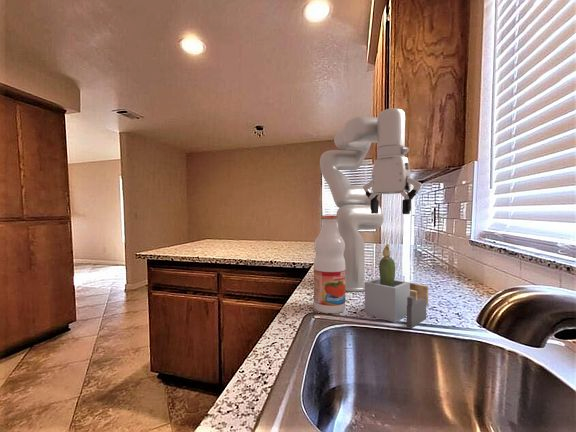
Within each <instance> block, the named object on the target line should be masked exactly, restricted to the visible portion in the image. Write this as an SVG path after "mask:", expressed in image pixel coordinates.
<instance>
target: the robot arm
mask: <svg viewBox="0 0 576 432" xmlns="http://www.w3.org/2000/svg"><path fill="white" fill-rule="evenodd" d="M405 137H406V114H405V111H404V110H403V109H401V108H397V107H396V108H392V107H391V108H386V109H384V110H381V111H380V112H379V113H378V115H377V117H375V116H357V117H352V118H350V119H348V120H347V121H346V123H345V124H344V127H343V128H342V129H340V130H339V131H337V132H336V134H335V136H334V139H333V141H334V145H335V146H336V148H337V149H331V150H327V151H324V152H323V153H322V154H321V156H320V158H319V167H320V168H319V169H320V172H321V175H322V177H323V179H324V181H326V183H327V185H328V186H329V190H330V193H331V195H332V199H333V201H334V204H335V205H336V207H337V211H336V214H335V215H337V216H338V221H337V227H338V230H339V233H340V235H341V237H342V238H343V240H344V242H345V250H344V253H343V256H344V259H345V266H346V270H345V292H363V291H364V292H365V241H364V237H363V235H361V233H360V231H362V230H364V231H365V230H378V229H380V228H381V226H382V225H383V223H384V213H383V211H382V208H381V206H380V204H379V202H380V201H379V200H378V199H379V198H380V196H381V195H382V194H383V195H390V194H391V195H392V194H393V195H394V194H395V195H398V194H400V195H401V196H402V197H403V199H402V204H401V205H402V207H401V208H402V210H401V211H402V212H401V213H402V214H403V215H410V214H411V210H412V200H414V198H415V196H416V195H417V194H418V193H419V190H420V189H421V187H422V182H419V181H418V180H415V179H413V178H411V170H410V163H409V158H408V157H406V154H409V152H410V147H406V145H405V143H406V141H405V139H406V138H405ZM372 143H375V144H376V159H375V160H374V162H373V163H374V164H373V168H372V175H371V176H372V177H371V181H369V182H368V183H366V184H364V185H353V184H351V183H350V180H349V178H348V177H347V176H346V174H344V173H343V172H341V171H351V172H352V171H357V170H358V169H359V168H360V167H361V166H362V164H363V161H364V160H365V158H366V156H367V154H368V152H369V151H370V147H371V145H372ZM411 188H412V189H411Z"/></svg>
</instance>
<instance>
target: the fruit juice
mask: <svg viewBox="0 0 576 432" xmlns="http://www.w3.org/2000/svg"><path fill="white" fill-rule="evenodd" d="M320 218H321V222H322V223H321V228H320V231H319V234H318V235H317V237H316V238H315V240H314V245H313V247H314V252H315V256H314V259H313V307H314V309H315V311H317V312H318V313H323V314H328V313H332V314H331V315H333V314H339V313H343V312H345V309H346V291H345V270H346V266H345V259H344V256H343V253H344V250H345V242H344V240H343V238H342V237H341V235H340V233H339V230H338V224H337V221H338V216H337V215H336V214H335V215H331V214H328V215H326V214H325V215H321V217H320Z"/></svg>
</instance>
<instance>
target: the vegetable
mask: <svg viewBox="0 0 576 432" xmlns="http://www.w3.org/2000/svg"><path fill="white" fill-rule="evenodd" d="M382 256H383V257H382V258H381V259H380V262H379V265H378V268H379V269H378V270H379V271H378V272H379V278H380V281H381V282H380V284H381V285H386V286H391V287H393V283H394V280H395V278H396V277H395V276H396V263H395V261H394V259H393V258H392V257H391V252H390V244H388V243H387V244H386V245H384V248H383V249H382Z"/></svg>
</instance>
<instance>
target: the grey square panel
mask: <svg viewBox="0 0 576 432" xmlns="http://www.w3.org/2000/svg"><path fill="white" fill-rule="evenodd" d="M426 319H427V306H426V298H420V299H418V300H416V301H415V297H413V296H409V297H407V316H406V328H409V329H413V328H414V327H416V326H418V325H419V324H420V323H421V322H423V321H425V320H426Z"/></svg>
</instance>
